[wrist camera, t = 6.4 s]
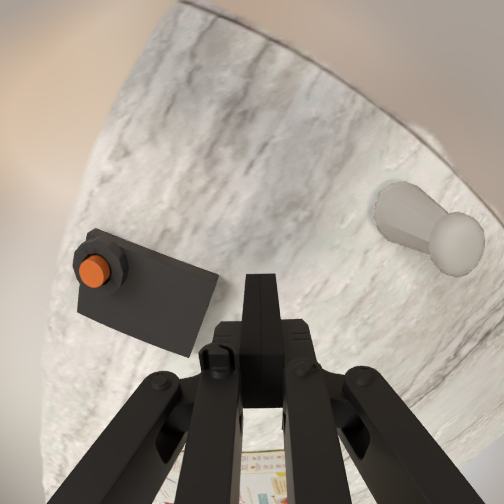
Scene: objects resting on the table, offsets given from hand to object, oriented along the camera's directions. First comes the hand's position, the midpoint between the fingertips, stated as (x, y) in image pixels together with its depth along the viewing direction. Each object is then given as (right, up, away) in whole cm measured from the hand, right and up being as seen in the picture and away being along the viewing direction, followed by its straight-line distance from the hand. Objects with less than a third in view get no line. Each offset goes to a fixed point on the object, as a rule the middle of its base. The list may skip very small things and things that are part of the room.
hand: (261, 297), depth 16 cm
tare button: (-15, +1, +12) cm, 19 cm away
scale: (-12, -2, +16) cm, 20 cm away
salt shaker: (+13, +7, +12) cm, 19 cm away
